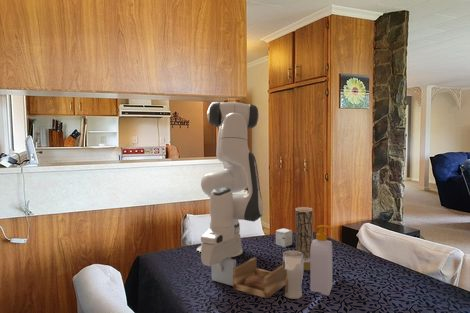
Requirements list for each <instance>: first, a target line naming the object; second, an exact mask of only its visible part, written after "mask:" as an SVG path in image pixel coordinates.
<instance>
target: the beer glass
mask: <svg viewBox="0 0 470 313" xmlns="http://www.w3.org/2000/svg"><path fill="white" fill-rule="evenodd" d="M282 265H283V274H284V279H285V285H284V287H285V290H284V296H285V297H286V298H288V299H292V300H296V299H301V298H302V297H303V291H302V284H303V280H304V279H303V277H304V271H305V270H304V262H303V253H301V252H299V251H296V250H287V251H284V252H283V254H282Z"/></svg>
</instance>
